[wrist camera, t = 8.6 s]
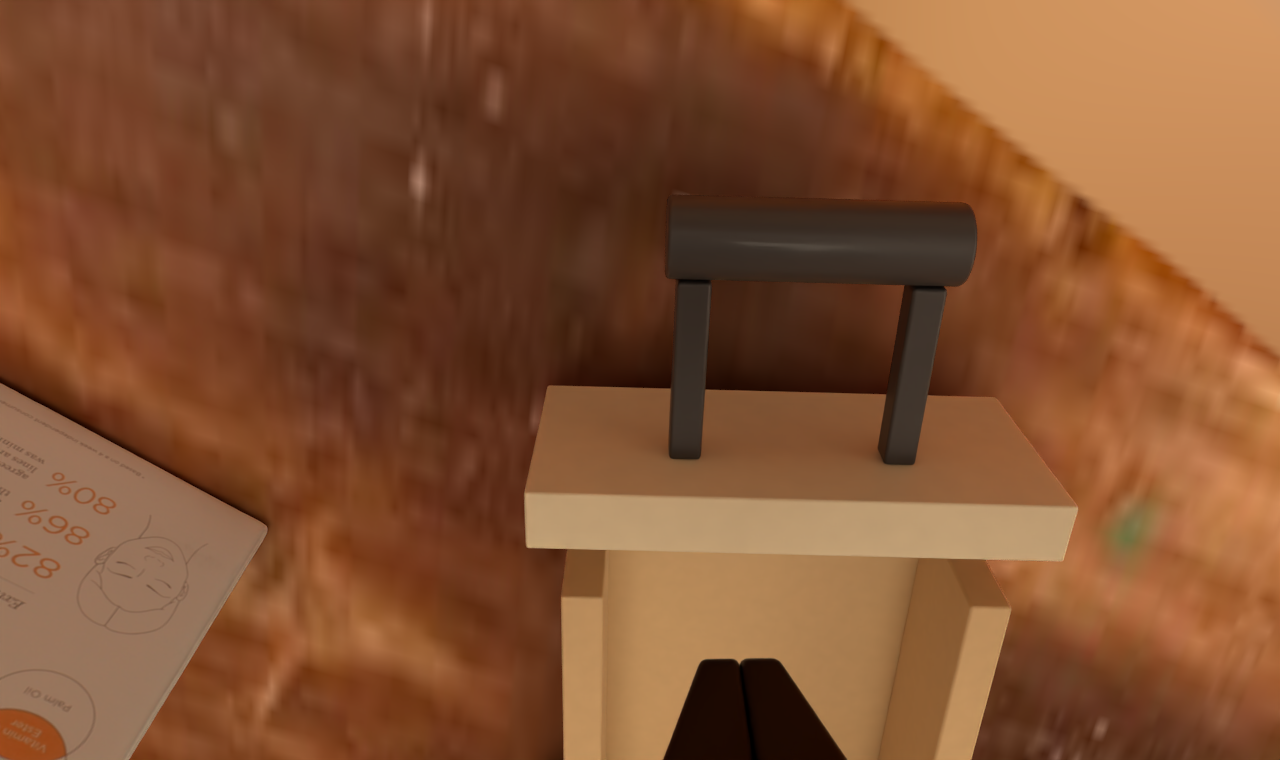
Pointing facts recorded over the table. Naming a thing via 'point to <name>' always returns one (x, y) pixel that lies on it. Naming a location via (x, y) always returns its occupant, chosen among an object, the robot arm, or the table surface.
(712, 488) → the drawer
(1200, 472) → the table surface
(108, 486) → the small box
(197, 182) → the table surface
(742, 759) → the robot arm
